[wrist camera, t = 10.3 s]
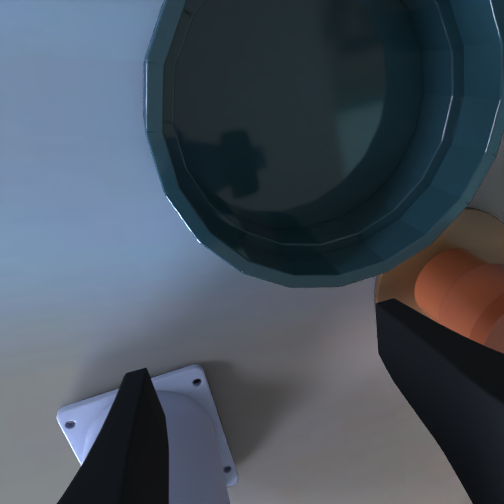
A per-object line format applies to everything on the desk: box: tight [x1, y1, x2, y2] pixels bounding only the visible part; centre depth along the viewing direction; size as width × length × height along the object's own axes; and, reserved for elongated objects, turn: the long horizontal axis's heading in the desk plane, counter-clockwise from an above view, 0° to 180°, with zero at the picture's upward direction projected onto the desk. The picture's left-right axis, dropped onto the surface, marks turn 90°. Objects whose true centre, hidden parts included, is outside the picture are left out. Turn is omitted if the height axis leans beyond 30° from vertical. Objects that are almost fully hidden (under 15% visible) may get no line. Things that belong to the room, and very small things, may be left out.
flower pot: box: [414, 248, 504, 353], centre depth 24 cm, size 6×6×6 cm
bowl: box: [143, 0, 504, 288], centre depth 19 cm, size 14×14×5 cm
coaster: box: [375, 208, 504, 319], centre depth 27 cm, size 9×9×1 cm
